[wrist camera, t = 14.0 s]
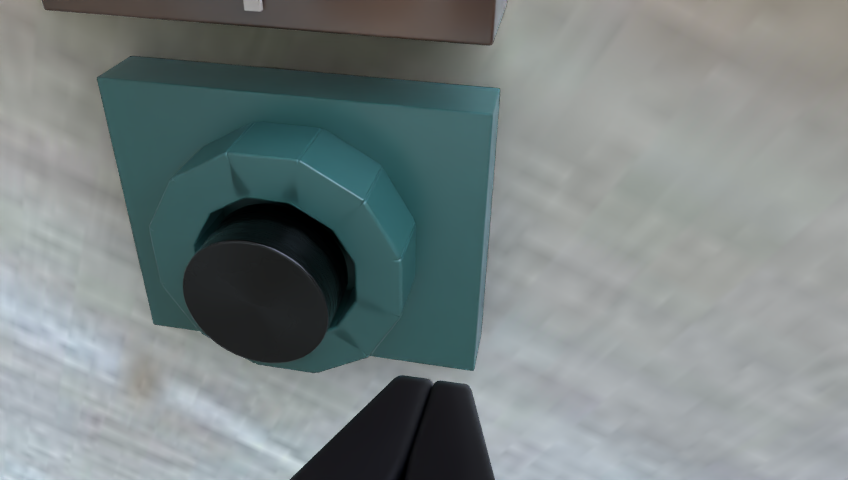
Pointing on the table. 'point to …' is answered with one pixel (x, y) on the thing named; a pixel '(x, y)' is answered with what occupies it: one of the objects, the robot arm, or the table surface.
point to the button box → (317, 191)
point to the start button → (266, 283)
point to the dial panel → (320, 15)
